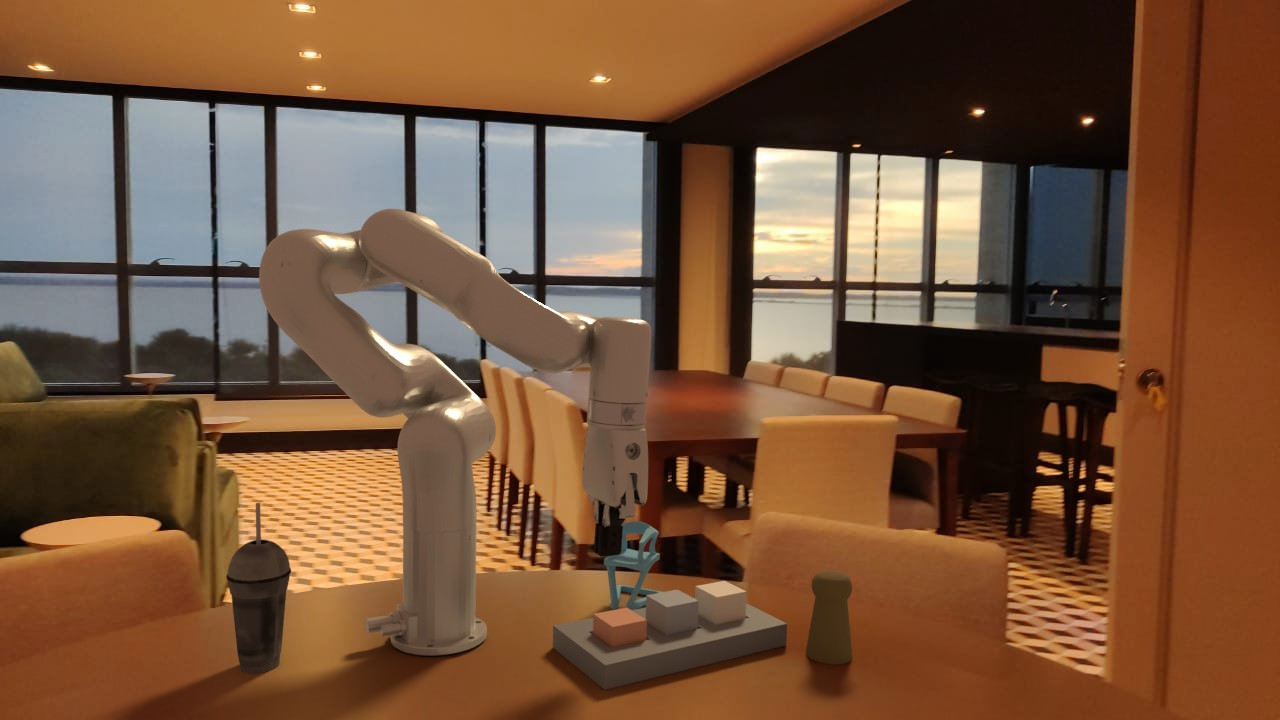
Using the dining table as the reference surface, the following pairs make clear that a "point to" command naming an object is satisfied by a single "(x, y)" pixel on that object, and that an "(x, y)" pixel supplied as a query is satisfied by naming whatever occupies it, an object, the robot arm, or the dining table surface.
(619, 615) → the terracotta button
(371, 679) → the dining table surface
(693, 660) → the button panel
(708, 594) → the cream button
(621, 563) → the chair
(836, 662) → the cork
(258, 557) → the beverage cup
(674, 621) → the slate button
